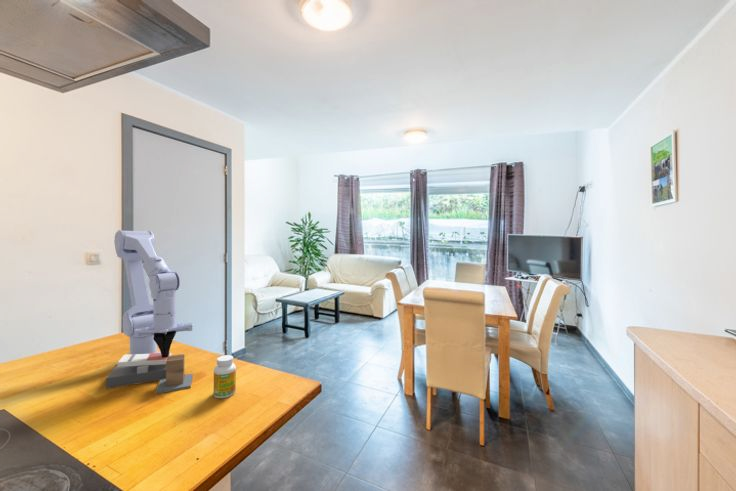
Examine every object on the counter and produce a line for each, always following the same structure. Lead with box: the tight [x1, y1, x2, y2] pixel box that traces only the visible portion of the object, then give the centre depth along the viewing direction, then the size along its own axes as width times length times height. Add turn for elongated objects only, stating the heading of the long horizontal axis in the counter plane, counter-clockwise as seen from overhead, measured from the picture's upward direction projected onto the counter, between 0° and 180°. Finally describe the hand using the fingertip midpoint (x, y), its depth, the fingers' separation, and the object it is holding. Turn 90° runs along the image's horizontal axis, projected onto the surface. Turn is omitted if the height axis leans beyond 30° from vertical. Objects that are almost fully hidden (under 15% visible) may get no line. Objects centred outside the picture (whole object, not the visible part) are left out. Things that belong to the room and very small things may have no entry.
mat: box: [155, 373, 194, 394], centre depth 85 cm, size 8×8×1 cm
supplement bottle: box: [213, 354, 237, 399], centre depth 80 cm, size 5×5×10 cm
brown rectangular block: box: [166, 353, 185, 387], centre depth 85 cm, size 4×4×7 cm
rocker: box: [117, 352, 172, 367], centre depth 89 cm, size 6×12×1 cm, turn 116°
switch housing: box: [105, 364, 166, 389], centre depth 89 cm, size 9×16×4 cm, turn 116°
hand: (165, 356), depth 91 cm, fingers closed, pressing on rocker
